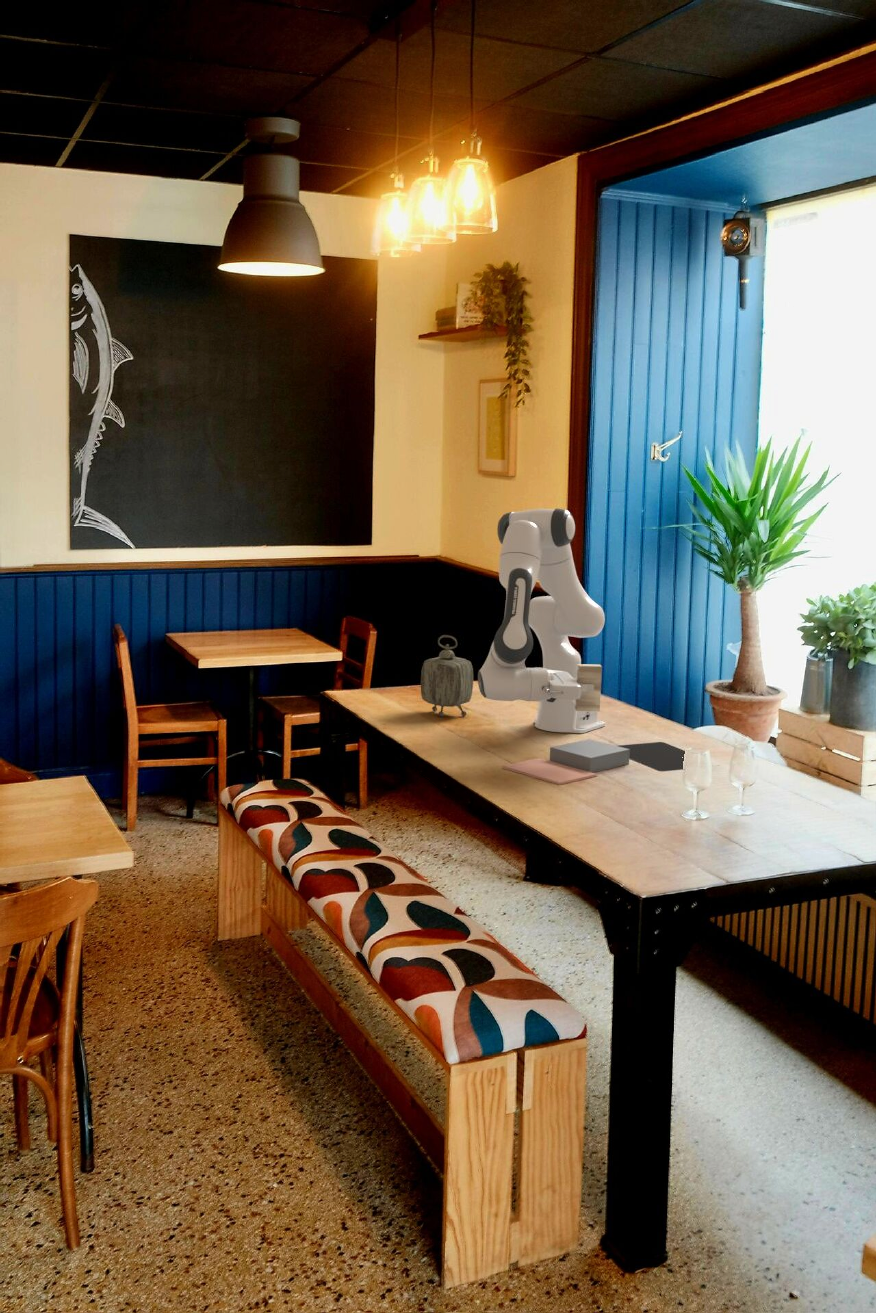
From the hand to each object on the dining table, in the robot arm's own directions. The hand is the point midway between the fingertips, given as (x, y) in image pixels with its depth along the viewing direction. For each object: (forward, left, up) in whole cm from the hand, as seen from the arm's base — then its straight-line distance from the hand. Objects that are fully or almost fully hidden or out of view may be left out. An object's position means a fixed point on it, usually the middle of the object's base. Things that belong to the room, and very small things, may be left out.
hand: (591, 685), depth 323 cm
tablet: (-22, +7, -22) cm, 32 cm away
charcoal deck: (0, 0, -21) cm, 21 cm away
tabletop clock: (-8, -65, -21) cm, 68 cm away
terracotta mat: (+16, 0, -21) cm, 26 cm away
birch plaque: (+1, -1, -7) cm, 7 cm away
